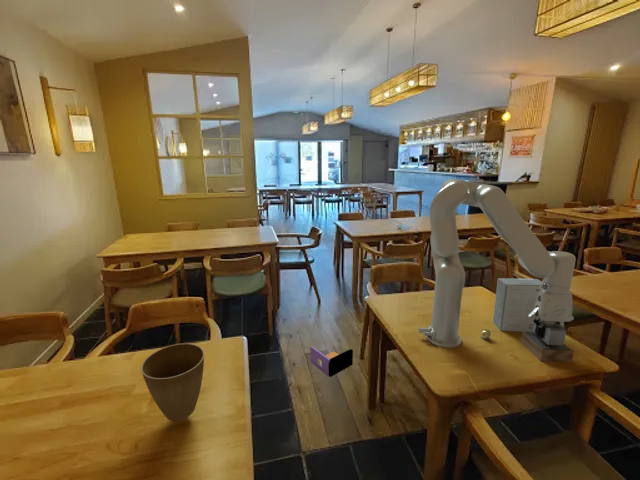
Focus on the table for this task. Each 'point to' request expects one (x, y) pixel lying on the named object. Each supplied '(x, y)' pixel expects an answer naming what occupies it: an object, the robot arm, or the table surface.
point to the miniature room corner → (331, 361)
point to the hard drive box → (515, 303)
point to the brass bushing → (485, 334)
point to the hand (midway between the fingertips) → (547, 336)
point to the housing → (552, 333)
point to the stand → (546, 349)
